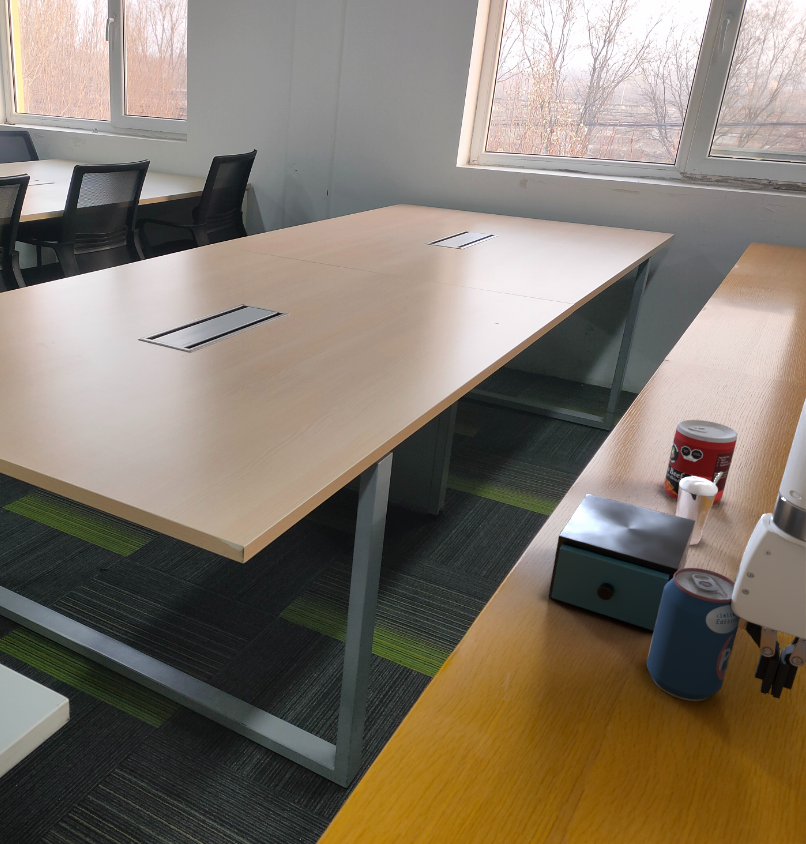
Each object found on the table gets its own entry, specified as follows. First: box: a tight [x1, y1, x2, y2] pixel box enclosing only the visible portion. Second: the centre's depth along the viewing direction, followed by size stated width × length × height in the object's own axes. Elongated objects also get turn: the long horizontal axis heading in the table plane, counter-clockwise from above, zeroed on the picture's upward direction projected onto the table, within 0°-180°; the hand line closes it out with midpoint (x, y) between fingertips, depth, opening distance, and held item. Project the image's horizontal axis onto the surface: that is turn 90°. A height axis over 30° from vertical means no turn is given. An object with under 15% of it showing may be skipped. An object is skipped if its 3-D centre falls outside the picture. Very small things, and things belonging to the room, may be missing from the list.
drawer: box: [552, 544, 670, 631], centre depth 95 cm, size 14×11×7 cm
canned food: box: [663, 419, 738, 506], centre depth 121 cm, size 8×8×11 cm
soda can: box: [646, 567, 740, 702], centre depth 81 cm, size 7×7×12 cm
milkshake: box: [674, 472, 723, 546], centre depth 109 cm, size 4×5×10 cm
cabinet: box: [547, 493, 695, 632], centre depth 97 cm, size 14×13×9 cm
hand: (770, 687), depth 78 cm, fingers closed
